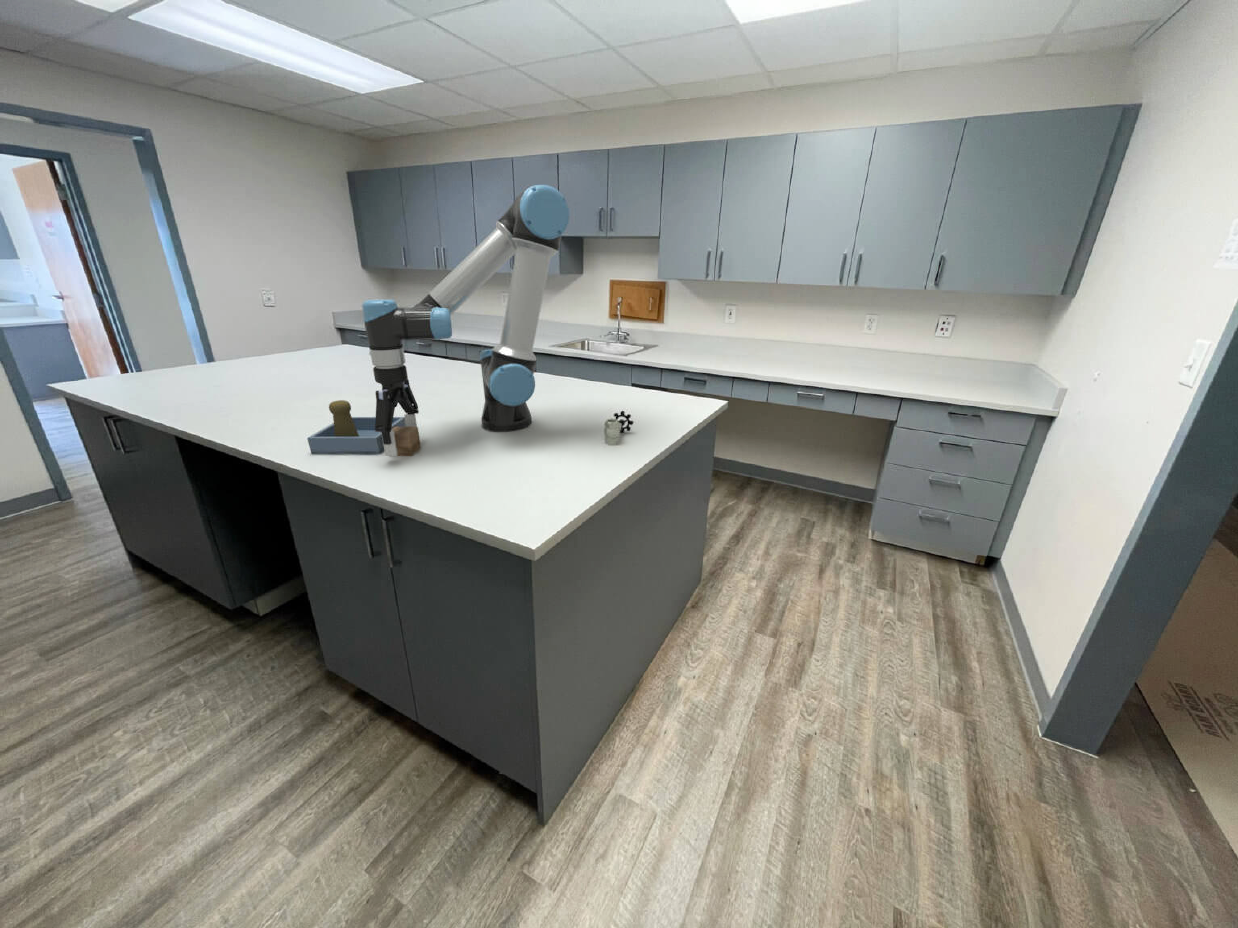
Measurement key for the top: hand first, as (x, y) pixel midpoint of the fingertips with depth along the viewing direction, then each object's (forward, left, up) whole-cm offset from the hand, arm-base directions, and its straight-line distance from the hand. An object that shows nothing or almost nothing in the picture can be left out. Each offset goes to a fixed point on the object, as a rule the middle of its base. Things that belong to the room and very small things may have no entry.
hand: (402, 446), depth 128 cm
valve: (-56, -10, -2) cm, 57 cm away
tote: (+15, -7, -2) cm, 16 cm away
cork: (+19, -7, -1) cm, 20 cm away
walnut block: (0, 0, -2) cm, 2 cm away
